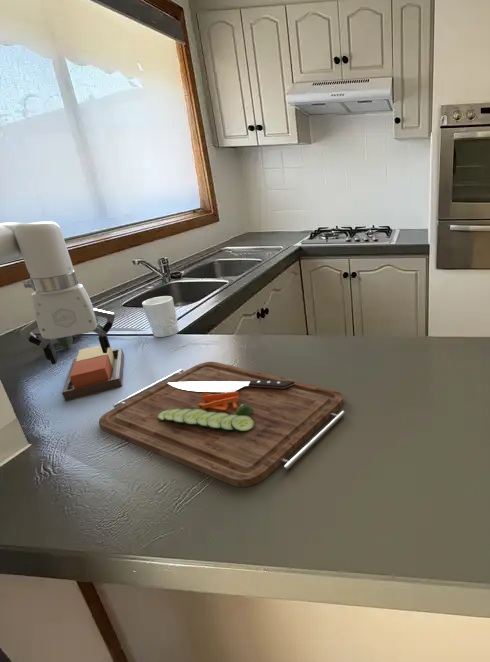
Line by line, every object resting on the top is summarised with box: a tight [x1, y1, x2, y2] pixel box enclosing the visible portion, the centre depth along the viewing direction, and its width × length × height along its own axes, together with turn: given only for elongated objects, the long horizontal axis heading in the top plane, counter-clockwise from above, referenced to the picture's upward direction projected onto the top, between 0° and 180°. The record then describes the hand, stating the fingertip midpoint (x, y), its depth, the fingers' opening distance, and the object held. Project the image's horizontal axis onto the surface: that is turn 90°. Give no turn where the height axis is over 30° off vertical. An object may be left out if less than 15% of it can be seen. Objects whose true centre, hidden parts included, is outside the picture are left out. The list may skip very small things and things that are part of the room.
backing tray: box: [61, 347, 125, 402], centre depth 99 cm, size 11×20×2 cm, turn 28°
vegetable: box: [56, 335, 74, 350], centre depth 113 cm, size 4×4×20 cm
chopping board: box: [98, 361, 346, 488], centre depth 80 cm, size 45×27×3 cm, turn 61°
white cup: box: [141, 295, 180, 338], centre depth 121 cm, size 8×8×10 cm
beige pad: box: [75, 342, 114, 369], centre depth 102 cm, size 6×8×4 cm
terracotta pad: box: [70, 355, 112, 388], centre depth 95 cm, size 6×8×4 cm
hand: (80, 356), depth 94 cm, fingers open, 9 cm apart
